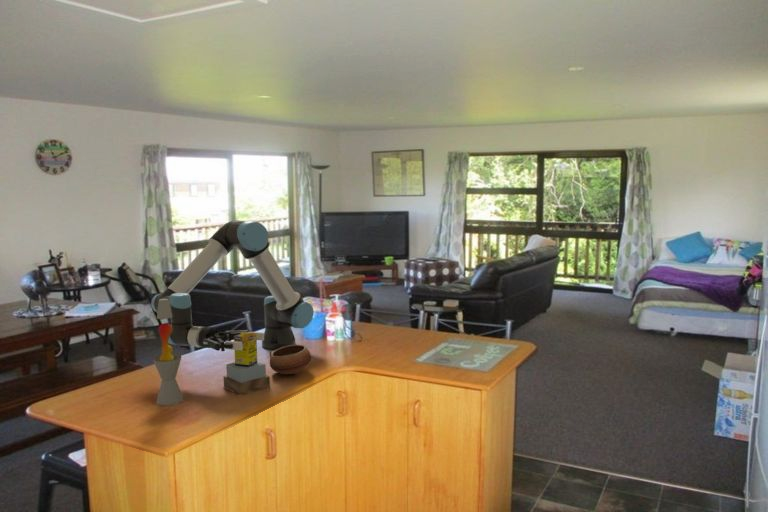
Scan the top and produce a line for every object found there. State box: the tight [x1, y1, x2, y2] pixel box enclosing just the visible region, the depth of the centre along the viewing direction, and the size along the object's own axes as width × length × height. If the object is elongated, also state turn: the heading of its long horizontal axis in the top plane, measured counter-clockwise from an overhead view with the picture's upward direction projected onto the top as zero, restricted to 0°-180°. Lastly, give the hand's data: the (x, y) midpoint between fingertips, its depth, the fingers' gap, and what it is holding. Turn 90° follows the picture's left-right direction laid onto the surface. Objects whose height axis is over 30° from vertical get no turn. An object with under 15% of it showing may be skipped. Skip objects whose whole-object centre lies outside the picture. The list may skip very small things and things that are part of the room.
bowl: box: [269, 344, 312, 376], centre depth 227 cm, size 16×16×10 cm
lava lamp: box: [152, 299, 184, 406], centre depth 198 cm, size 9×9×35 cm
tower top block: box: [225, 360, 267, 383], centre depth 211 cm, size 10×10×4 cm
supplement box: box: [233, 332, 258, 367], centre depth 210 cm, size 6×6×11 cm
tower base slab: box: [222, 374, 271, 396], centre depth 212 cm, size 12×12×4 cm
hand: (253, 341), depth 209 cm, fingers open, 13 cm apart
